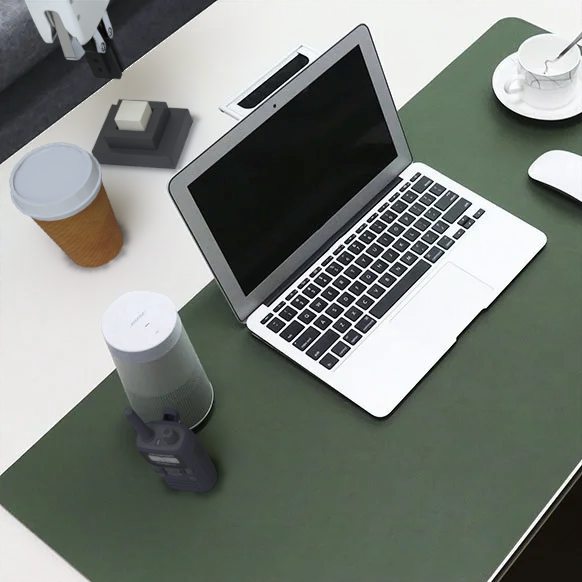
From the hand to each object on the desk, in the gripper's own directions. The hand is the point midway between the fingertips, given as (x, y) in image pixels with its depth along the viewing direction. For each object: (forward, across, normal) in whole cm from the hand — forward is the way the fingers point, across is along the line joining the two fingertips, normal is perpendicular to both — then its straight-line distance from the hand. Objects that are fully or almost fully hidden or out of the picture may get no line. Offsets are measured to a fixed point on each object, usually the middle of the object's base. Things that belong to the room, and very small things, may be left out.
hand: (110, 73), depth 93 cm
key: (+7, 0, 0) cm, 7 cm away
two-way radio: (+11, +42, +18) cm, 47 cm away
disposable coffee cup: (+11, +16, -1) cm, 19 cm away
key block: (+11, 0, 0) cm, 11 cm away
